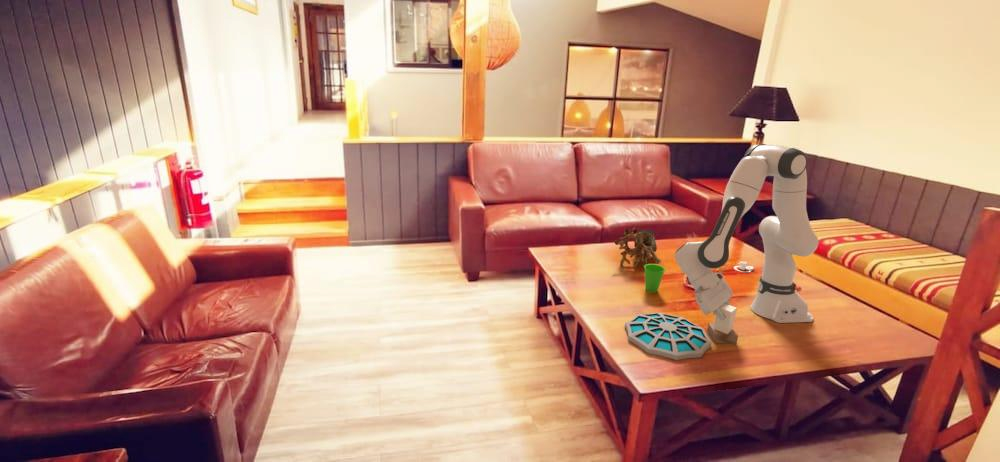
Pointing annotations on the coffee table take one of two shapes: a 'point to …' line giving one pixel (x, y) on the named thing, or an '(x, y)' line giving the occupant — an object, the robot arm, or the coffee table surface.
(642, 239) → the decorative coral sculpture
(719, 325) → the cream pillar block
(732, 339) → the walnut base block
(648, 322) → the decorative platform
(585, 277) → the coffee table surface
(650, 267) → the cup
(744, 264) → the teacup and saucer
